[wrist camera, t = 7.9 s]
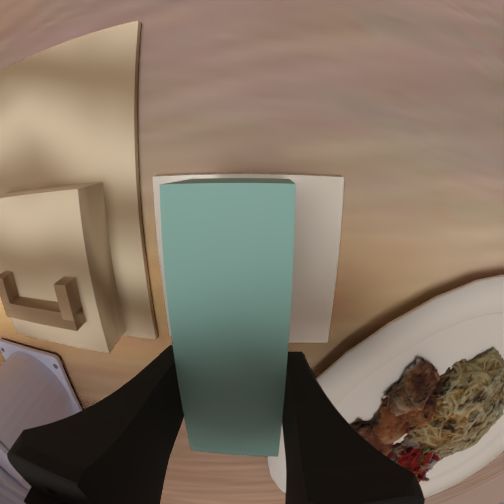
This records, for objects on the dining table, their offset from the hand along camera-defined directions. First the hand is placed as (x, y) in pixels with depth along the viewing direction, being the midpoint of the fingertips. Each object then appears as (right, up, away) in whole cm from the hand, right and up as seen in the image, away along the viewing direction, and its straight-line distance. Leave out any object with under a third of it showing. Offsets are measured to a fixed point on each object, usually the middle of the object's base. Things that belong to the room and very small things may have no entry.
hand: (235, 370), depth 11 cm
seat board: (-11, +8, +4) cm, 14 cm away
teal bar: (0, +2, +2) cm, 3 cm away
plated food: (+17, -10, +9) cm, 22 cm away
